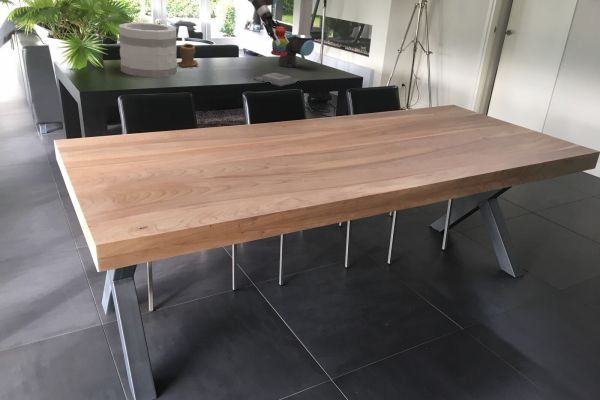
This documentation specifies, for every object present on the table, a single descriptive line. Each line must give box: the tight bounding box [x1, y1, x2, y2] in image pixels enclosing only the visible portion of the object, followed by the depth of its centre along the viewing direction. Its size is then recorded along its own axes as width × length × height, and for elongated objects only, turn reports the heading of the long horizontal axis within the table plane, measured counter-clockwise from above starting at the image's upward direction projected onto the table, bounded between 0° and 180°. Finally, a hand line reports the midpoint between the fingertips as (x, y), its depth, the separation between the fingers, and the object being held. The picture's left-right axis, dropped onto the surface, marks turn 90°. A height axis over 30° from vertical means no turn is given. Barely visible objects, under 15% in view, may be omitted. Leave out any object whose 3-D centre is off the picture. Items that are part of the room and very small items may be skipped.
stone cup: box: [177, 43, 199, 68], centre depth 346 cm, size 15×12×15 cm
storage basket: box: [118, 22, 178, 78], centre depth 319 cm, size 35×35×27 cm
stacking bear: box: [270, 25, 287, 57], centre depth 325 cm, size 11×10×18 cm
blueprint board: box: [253, 72, 300, 87], centre depth 336 cm, size 22×22×3 cm
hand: (283, 43), depth 324 cm, fingers closed on stacking bear, 9 cm apart
